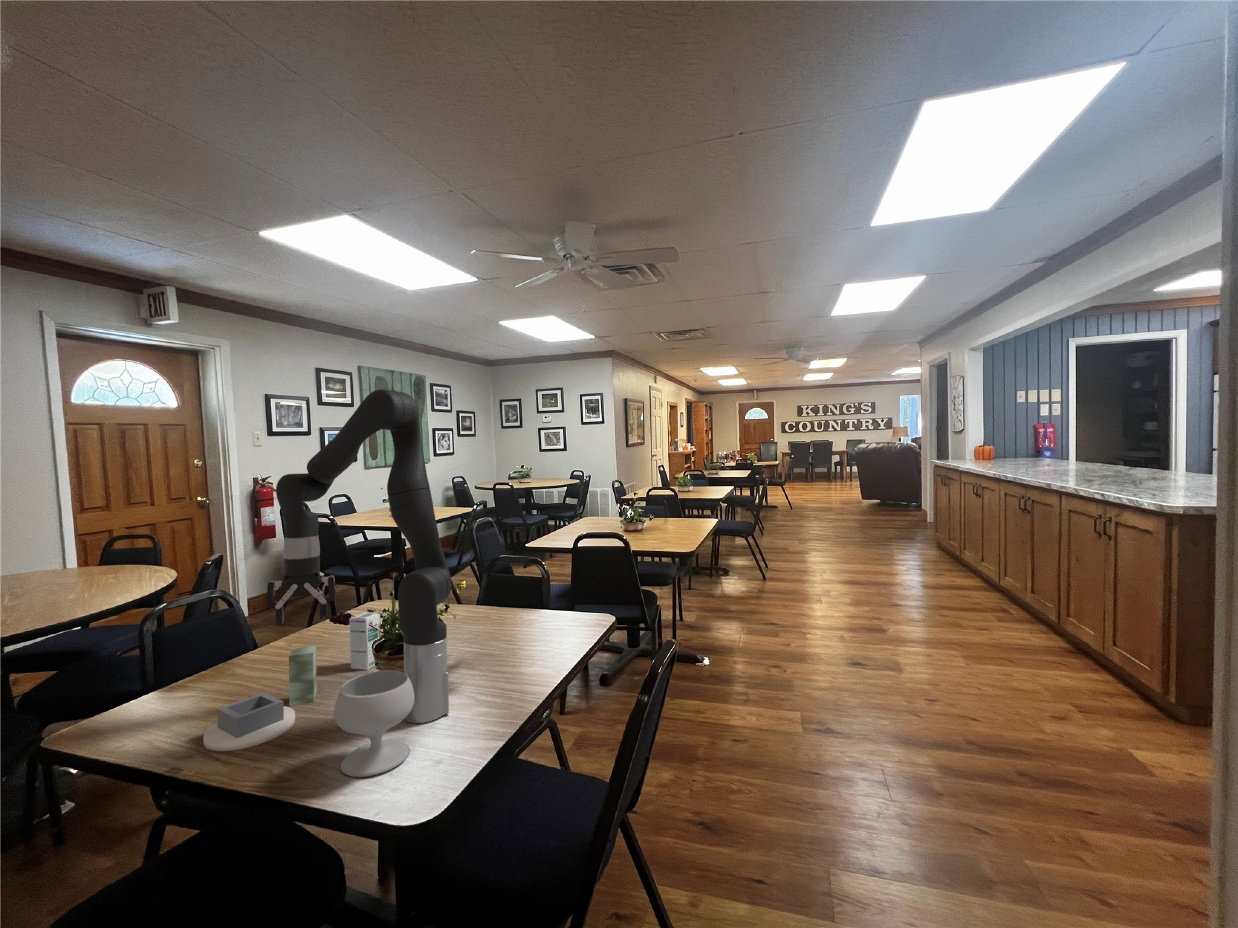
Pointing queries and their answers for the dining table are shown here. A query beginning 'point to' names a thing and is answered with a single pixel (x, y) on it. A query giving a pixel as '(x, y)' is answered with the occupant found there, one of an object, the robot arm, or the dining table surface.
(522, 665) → the dining table surface
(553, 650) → the dining table surface
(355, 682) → the chalice
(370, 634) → the syrup box
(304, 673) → the square peg
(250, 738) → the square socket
